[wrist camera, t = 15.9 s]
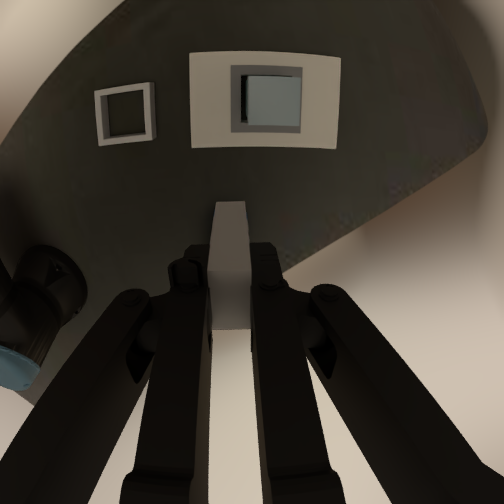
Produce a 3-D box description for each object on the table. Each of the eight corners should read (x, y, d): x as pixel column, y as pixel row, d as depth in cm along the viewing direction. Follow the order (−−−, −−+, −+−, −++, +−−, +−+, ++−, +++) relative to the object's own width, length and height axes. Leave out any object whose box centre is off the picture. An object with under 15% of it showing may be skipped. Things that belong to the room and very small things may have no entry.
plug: (244, 115, 38) (248, 125, 28) (244, 79, 36) (248, 75, 25) (281, 115, 38) (299, 126, 28) (281, 80, 36) (300, 77, 25)
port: (195, 143, 39) (191, 148, 36) (193, 56, 33) (189, 52, 30) (328, 143, 40) (336, 149, 37) (332, 59, 34) (341, 57, 31)
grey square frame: (105, 142, 38) (98, 146, 36) (101, 90, 34) (94, 91, 32) (156, 137, 39) (152, 140, 36) (154, 82, 35) (149, 82, 33)
